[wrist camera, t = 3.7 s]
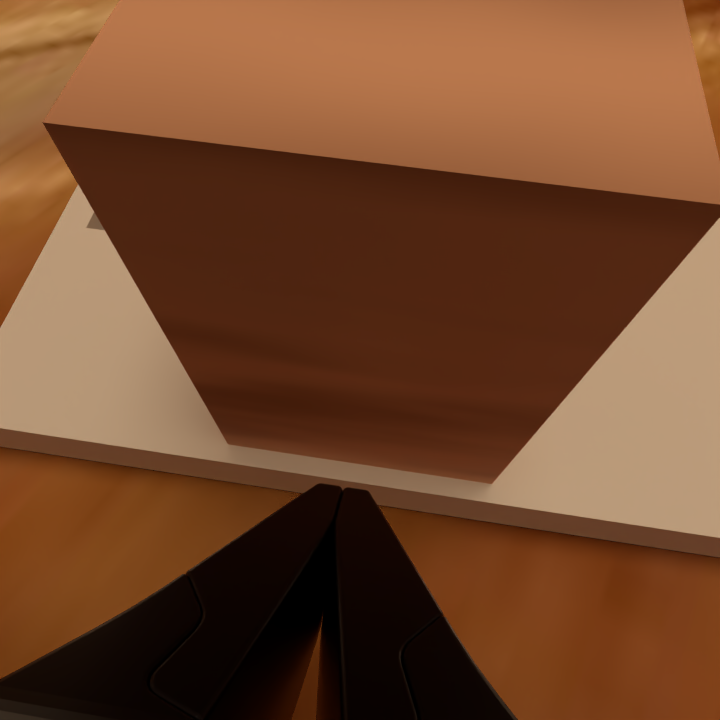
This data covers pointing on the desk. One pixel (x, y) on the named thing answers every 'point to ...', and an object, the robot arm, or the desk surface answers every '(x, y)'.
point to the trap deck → (387, 486)
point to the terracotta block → (393, 206)
